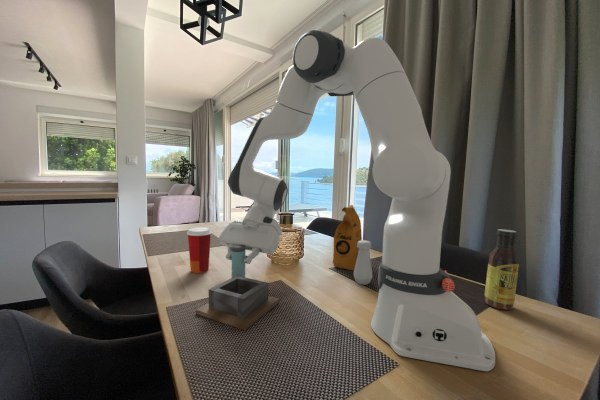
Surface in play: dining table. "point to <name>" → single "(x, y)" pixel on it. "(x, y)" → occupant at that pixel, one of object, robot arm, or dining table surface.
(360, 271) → the salt shaker
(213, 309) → the grey box holder
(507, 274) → the sauce bottle
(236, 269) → the marker peg
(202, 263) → the paper cup
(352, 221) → the coffee package
